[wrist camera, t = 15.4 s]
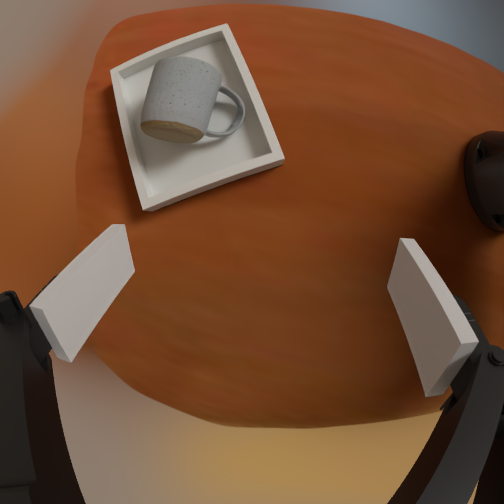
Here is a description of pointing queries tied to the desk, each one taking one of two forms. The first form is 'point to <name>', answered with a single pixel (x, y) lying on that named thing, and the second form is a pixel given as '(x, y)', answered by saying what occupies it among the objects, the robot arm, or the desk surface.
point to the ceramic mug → (185, 101)
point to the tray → (208, 148)
